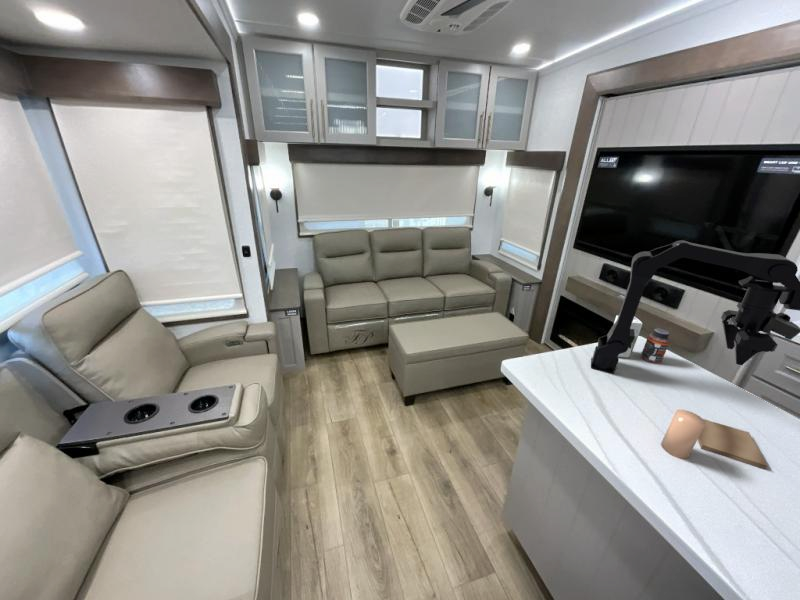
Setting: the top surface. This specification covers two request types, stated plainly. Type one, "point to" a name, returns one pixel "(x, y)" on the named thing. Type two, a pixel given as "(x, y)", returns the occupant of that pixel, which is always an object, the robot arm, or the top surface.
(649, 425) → the top surface
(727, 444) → the walnut serving board
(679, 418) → the peach rounded cylinder
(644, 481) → the top surface
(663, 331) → the supplement bottle
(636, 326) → the syrup box
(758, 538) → the top surface
